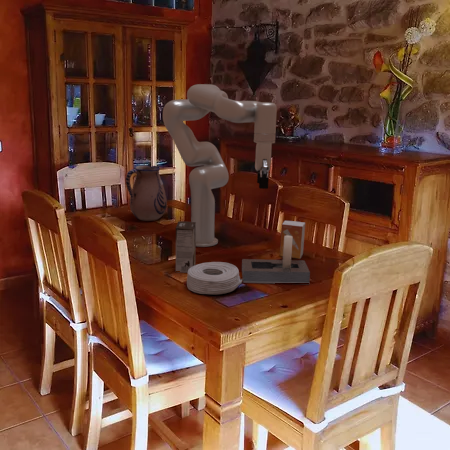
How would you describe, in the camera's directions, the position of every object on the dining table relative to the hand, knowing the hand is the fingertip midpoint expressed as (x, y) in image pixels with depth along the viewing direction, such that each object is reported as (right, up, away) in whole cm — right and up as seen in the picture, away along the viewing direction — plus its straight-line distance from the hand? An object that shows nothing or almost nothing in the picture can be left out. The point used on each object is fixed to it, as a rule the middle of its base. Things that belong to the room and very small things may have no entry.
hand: (262, 185), depth 191 cm
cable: (-17, -35, -19) cm, 43 cm away
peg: (+7, -32, -10) cm, 34 cm away
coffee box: (-28, -30, -3) cm, 41 cm away
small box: (+12, -26, +14) cm, 32 cm away
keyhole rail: (+3, -32, -10) cm, 34 cm away
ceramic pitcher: (-51, -12, +60) cm, 80 cm away
